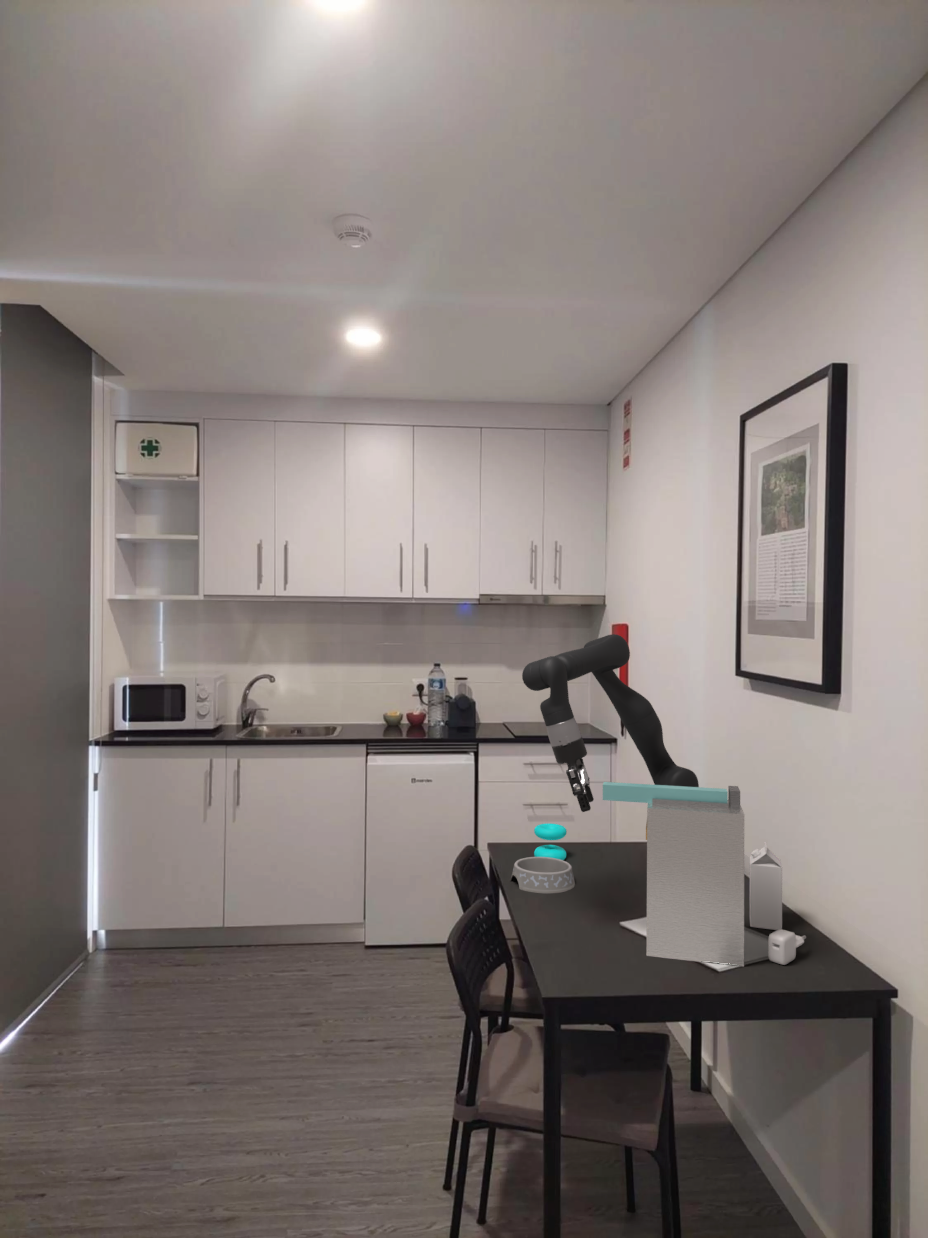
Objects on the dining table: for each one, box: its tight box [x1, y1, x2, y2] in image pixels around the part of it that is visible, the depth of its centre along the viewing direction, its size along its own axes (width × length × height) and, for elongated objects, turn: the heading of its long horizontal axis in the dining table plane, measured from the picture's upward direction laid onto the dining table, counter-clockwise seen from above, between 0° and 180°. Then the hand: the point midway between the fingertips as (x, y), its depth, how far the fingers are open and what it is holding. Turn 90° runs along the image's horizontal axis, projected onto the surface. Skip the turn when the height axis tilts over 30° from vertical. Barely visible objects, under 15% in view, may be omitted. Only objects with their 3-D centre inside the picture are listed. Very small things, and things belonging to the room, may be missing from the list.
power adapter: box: [767, 928, 807, 966], centre depth 169 cm, size 11×5×6 cm, turn 132°
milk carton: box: [749, 841, 783, 931], centre depth 188 cm, size 7×7×19 cm
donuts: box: [533, 822, 568, 861], centre depth 241 cm, size 10×10×10 cm
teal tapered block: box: [602, 781, 728, 804], centre depth 175 cm, size 27×4×4 cm, turn 75°
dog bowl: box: [509, 856, 576, 894], centre depth 218 cm, size 17×18×5 cm
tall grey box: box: [645, 785, 745, 967], centre depth 173 cm, size 20×14×36 cm
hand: (588, 806), depth 182 cm, fingers open, 8 cm apart
